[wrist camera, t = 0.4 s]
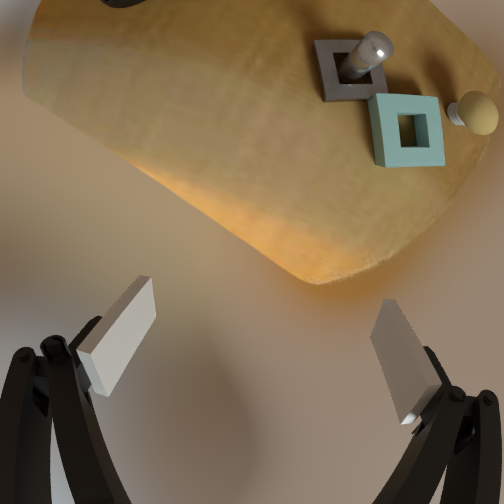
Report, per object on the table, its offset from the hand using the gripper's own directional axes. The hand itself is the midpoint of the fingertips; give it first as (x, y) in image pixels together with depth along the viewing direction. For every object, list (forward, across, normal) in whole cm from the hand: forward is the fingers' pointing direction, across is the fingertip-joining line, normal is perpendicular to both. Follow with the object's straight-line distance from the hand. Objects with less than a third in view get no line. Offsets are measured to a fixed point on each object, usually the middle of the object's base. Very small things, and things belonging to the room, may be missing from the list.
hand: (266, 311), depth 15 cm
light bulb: (+27, +28, +19) cm, 43 cm away
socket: (+26, +18, +14) cm, 35 cm away
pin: (+27, +9, +21) cm, 35 cm away
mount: (+27, +9, +21) cm, 35 cm away
